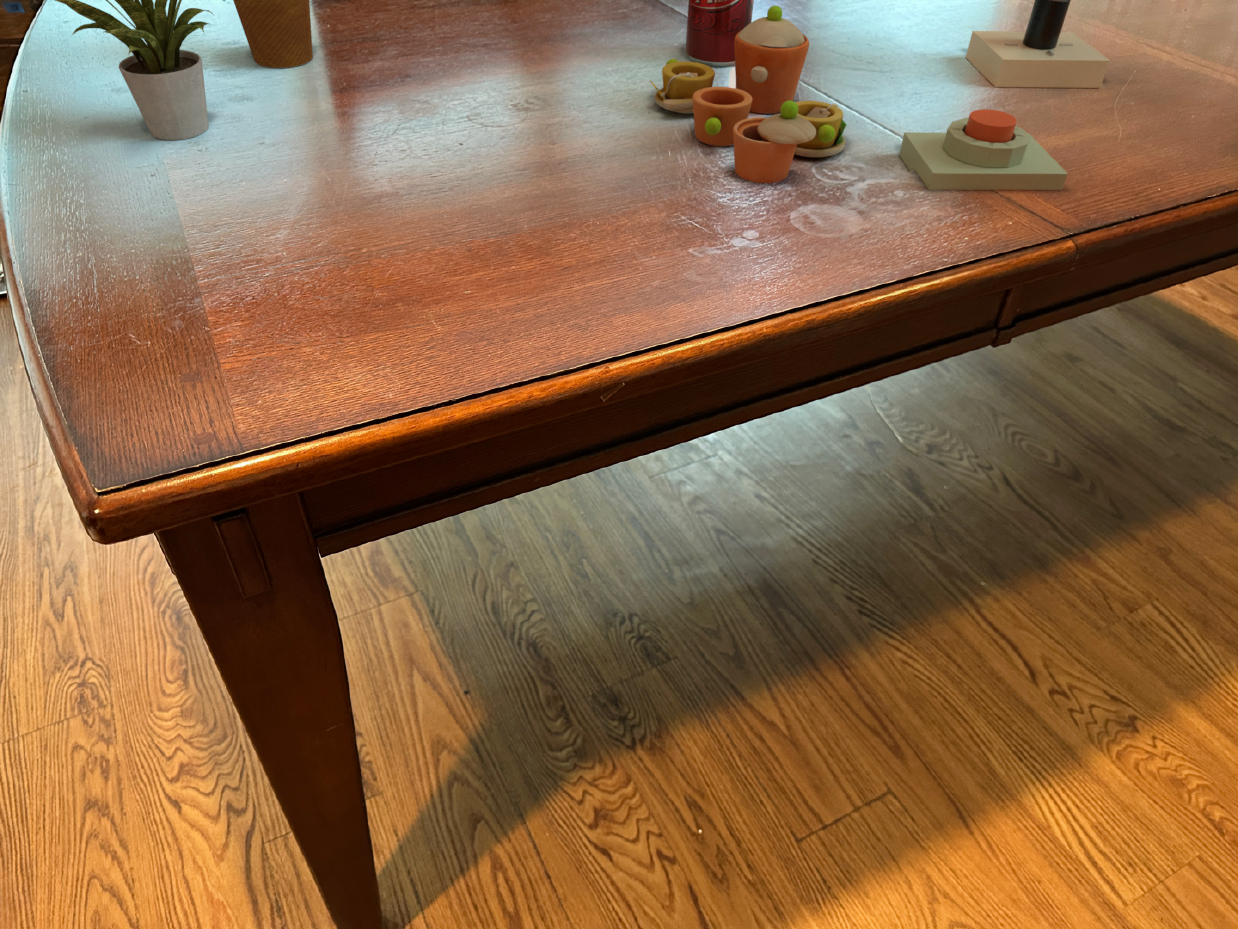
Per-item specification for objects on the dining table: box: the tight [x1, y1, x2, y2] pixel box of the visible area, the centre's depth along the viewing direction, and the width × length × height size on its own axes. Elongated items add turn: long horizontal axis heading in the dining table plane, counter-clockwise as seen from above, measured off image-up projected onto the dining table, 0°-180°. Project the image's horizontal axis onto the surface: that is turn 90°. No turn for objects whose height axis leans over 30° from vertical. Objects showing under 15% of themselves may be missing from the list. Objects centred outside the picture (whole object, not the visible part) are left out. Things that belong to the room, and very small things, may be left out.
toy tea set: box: [649, 5, 848, 184], centre depth 88 cm, size 26×16×10 cm, turn 17°
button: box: [965, 108, 1018, 143], centre depth 82 cm, size 4×4×2 cm
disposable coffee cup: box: [232, 0, 314, 69], centre depth 100 cm, size 10×10×12 cm
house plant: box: [54, 0, 214, 141], centre depth 84 cm, size 14×14×16 cm
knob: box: [1023, 0, 1072, 50], centre depth 104 cm, size 4×4×5 cm
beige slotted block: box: [965, 30, 1111, 89], centre depth 106 cm, size 12×10×3 cm
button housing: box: [898, 117, 1068, 191], centre depth 84 cm, size 12×9×4 cm
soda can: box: [684, 0, 755, 67], centre depth 104 cm, size 7×7×12 cm
